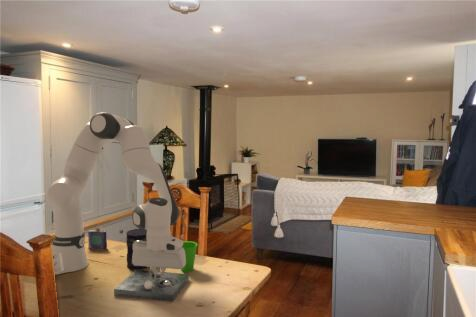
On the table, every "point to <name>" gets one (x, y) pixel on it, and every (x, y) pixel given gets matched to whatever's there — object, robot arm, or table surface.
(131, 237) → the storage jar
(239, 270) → the table surface
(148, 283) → the plastic ball
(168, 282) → the steel ball
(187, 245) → the cup
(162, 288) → the plate
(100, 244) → the flask
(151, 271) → the wood ball
